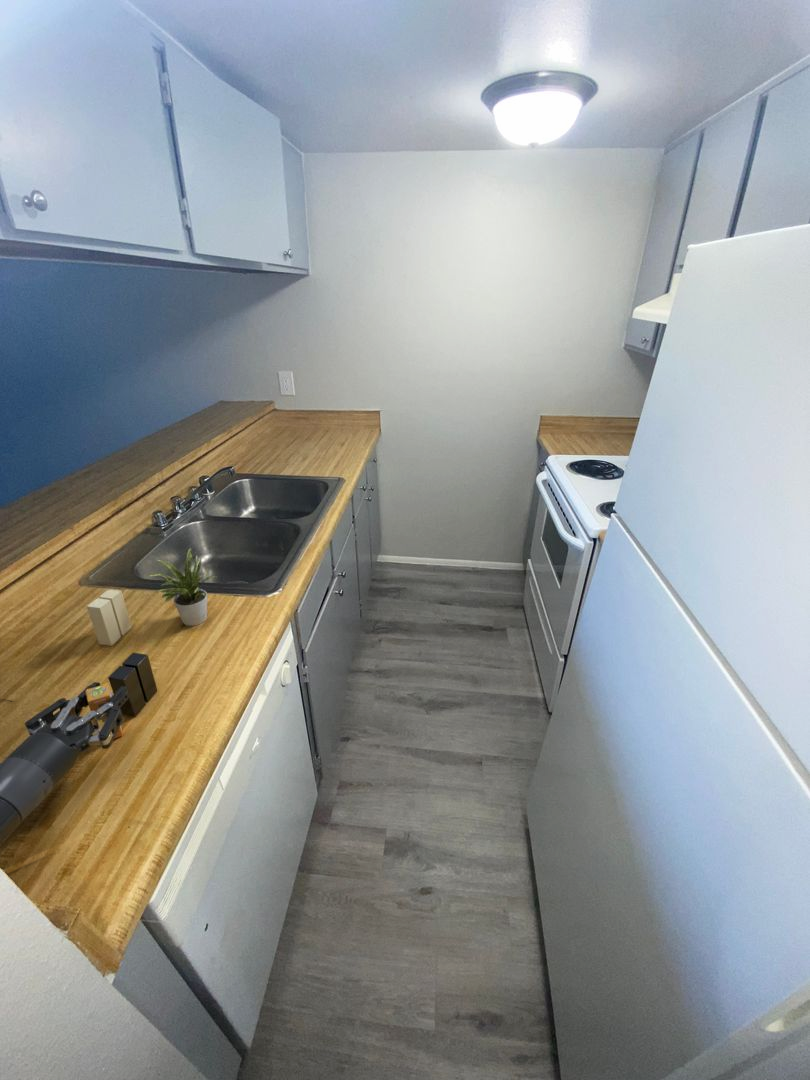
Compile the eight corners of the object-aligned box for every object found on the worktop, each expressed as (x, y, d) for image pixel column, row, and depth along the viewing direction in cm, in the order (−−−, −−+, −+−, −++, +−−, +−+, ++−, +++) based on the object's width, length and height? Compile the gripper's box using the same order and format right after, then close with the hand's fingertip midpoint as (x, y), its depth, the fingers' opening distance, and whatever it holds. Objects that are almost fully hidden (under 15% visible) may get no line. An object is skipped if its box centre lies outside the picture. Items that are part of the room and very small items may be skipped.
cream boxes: (111, 646, 101) (99, 607, 96) (99, 644, 101) (86, 606, 97) (131, 627, 107) (121, 590, 102) (119, 625, 107) (108, 589, 102)
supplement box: (102, 745, 79) (85, 702, 75) (100, 731, 82) (84, 688, 77) (124, 736, 81) (109, 693, 76) (122, 723, 83) (107, 680, 79)
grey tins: (135, 717, 85) (123, 679, 80) (120, 714, 85) (107, 677, 81) (157, 690, 90) (147, 654, 86) (143, 688, 91) (132, 652, 87)
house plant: (164, 603, 115) (149, 544, 108) (224, 595, 119) (214, 538, 112) (156, 640, 103) (139, 576, 96) (223, 629, 107) (212, 568, 100)
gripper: (64, 768, 62) (146, 677, 77) (-31, 751, 64) (67, 665, 79) (80, 803, 66) (155, 709, 81) (-10, 786, 68) (80, 698, 83)
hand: (111, 688), depth 80 cm, fingers closed on supplement box, 4 cm apart
